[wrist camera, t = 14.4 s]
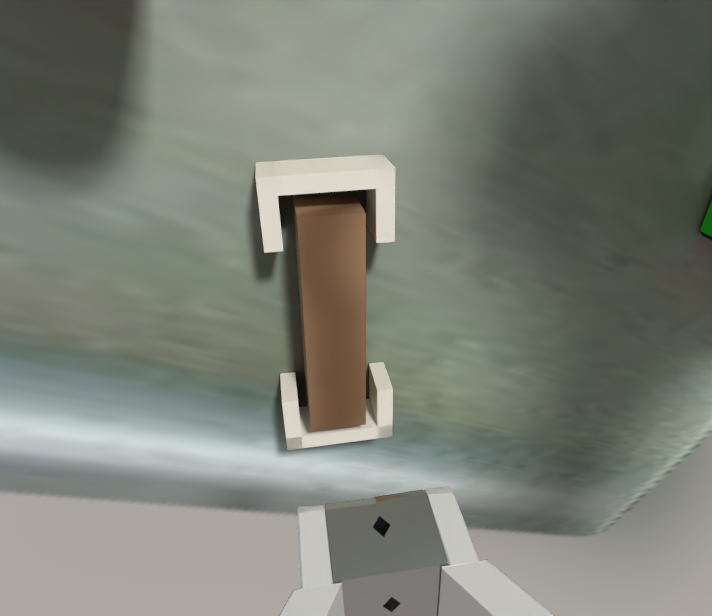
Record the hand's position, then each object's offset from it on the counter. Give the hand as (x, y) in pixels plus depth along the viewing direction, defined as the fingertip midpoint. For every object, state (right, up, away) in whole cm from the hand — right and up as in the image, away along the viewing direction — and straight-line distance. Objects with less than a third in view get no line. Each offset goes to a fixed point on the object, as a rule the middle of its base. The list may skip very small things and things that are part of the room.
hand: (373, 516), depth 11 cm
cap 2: (-2, -2, +27) cm, 27 cm away
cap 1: (-2, +11, +19) cm, 23 cm away
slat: (-2, +5, +23) cm, 24 cm away
